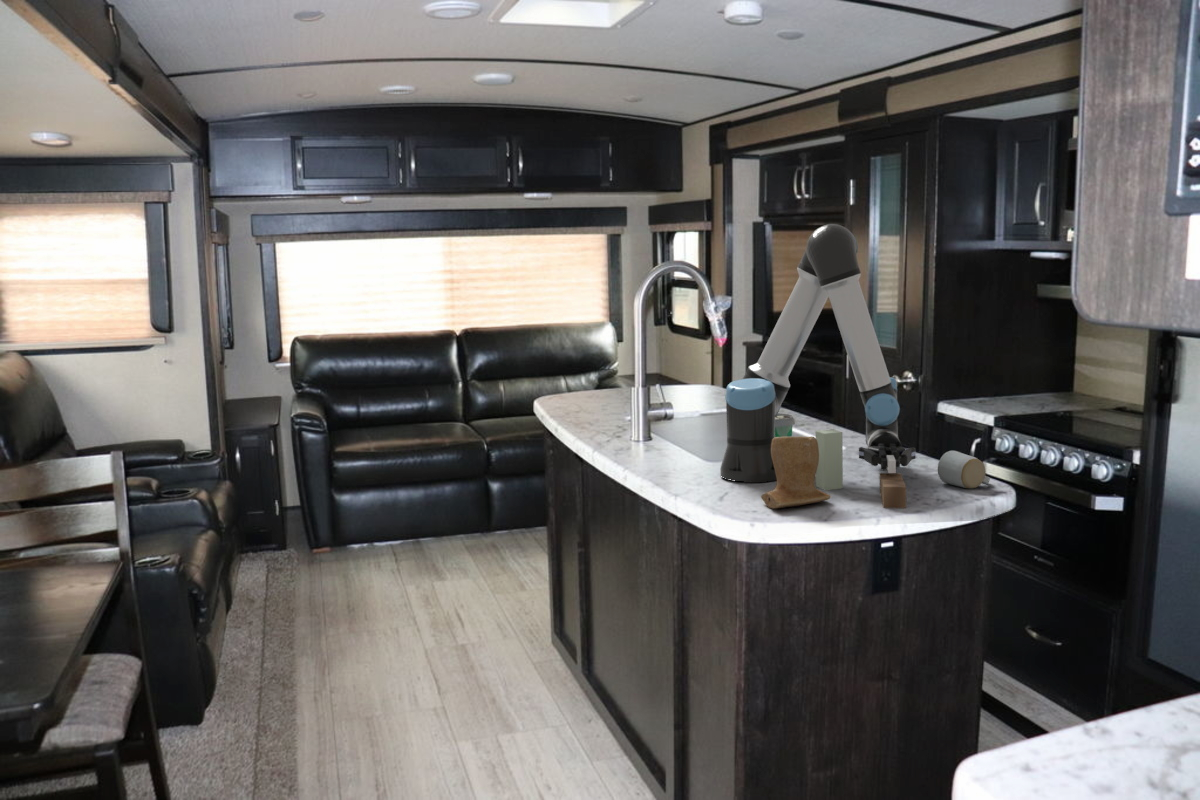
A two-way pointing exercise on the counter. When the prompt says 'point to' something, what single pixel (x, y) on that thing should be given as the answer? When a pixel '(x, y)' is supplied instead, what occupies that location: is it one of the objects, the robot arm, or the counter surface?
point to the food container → (783, 425)
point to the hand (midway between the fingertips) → (892, 466)
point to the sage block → (829, 459)
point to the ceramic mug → (962, 470)
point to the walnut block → (892, 490)
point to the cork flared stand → (794, 472)
